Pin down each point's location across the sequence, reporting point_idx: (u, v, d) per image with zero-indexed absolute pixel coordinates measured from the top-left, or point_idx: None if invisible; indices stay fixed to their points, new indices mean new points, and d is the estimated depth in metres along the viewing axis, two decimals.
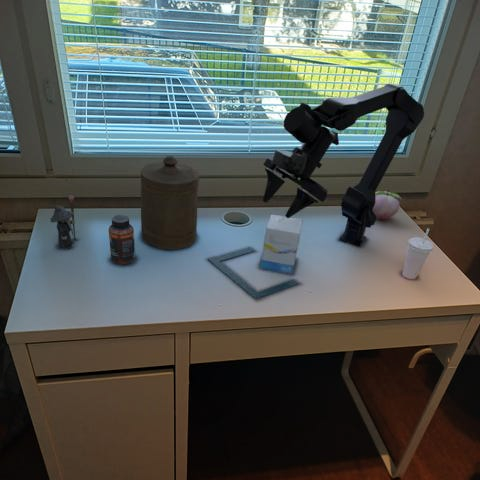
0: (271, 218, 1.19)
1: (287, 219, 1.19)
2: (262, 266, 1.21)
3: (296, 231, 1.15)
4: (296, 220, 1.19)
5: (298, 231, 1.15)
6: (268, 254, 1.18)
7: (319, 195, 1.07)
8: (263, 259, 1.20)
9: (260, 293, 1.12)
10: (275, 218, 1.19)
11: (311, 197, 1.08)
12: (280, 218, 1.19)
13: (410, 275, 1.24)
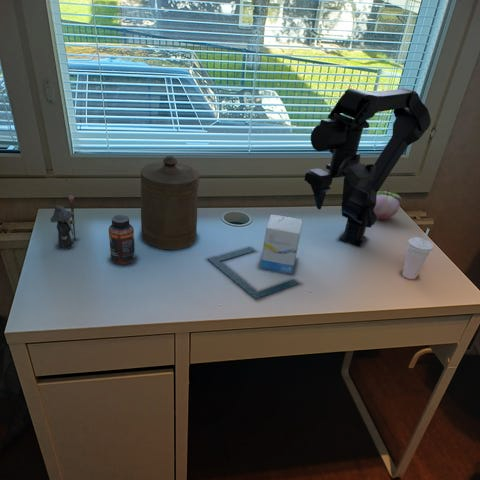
0: (271, 218, 1.19)
1: (287, 219, 1.19)
2: (262, 266, 1.21)
3: (296, 231, 1.15)
4: (296, 220, 1.19)
5: (298, 231, 1.15)
6: (268, 254, 1.18)
7: None
8: (263, 259, 1.20)
9: (260, 293, 1.12)
10: (275, 218, 1.19)
11: None
12: (280, 218, 1.19)
13: (410, 275, 1.24)
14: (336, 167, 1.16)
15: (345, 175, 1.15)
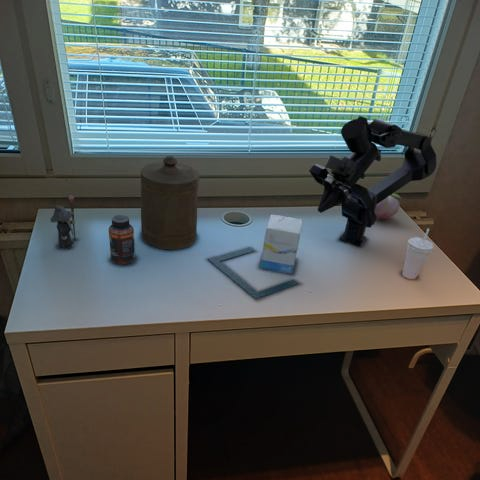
0: (271, 218, 1.19)
1: (287, 219, 1.19)
2: (262, 266, 1.21)
3: (296, 231, 1.15)
4: (296, 220, 1.19)
5: (298, 231, 1.15)
6: (268, 254, 1.18)
7: (366, 201, 1.17)
8: (263, 259, 1.20)
9: (260, 293, 1.12)
10: (275, 218, 1.19)
11: (346, 195, 1.20)
12: (280, 218, 1.19)
13: (410, 275, 1.24)
14: None
15: None
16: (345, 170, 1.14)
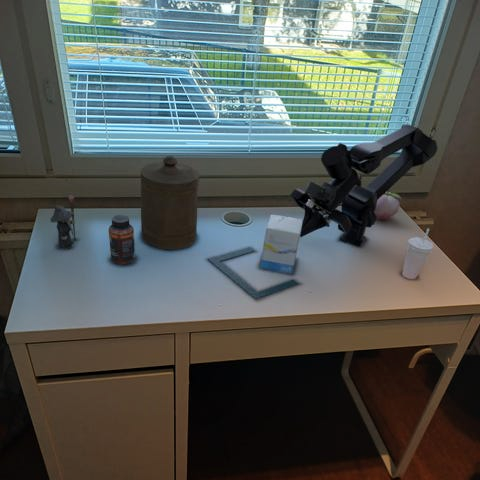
0: (271, 218, 1.19)
1: (287, 219, 1.19)
2: (262, 266, 1.21)
3: (296, 231, 1.15)
4: (296, 220, 1.19)
5: (298, 231, 1.15)
6: (268, 254, 1.18)
7: (345, 226, 1.17)
8: (263, 259, 1.20)
9: (260, 293, 1.12)
10: (275, 218, 1.19)
11: (326, 220, 1.21)
12: (280, 218, 1.19)
13: (410, 275, 1.24)
14: None
15: None
16: (324, 196, 1.15)
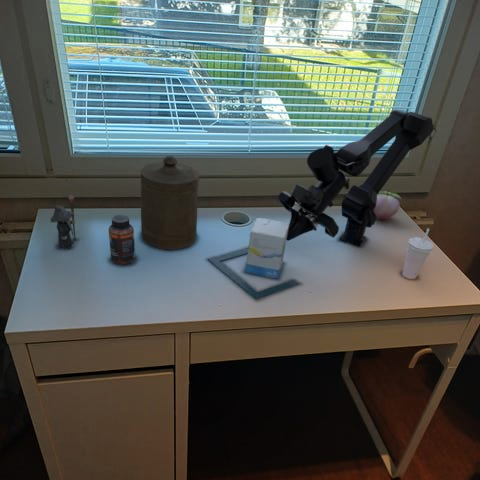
0: (257, 221, 1.17)
1: (273, 223, 1.17)
2: (247, 270, 1.19)
3: (281, 235, 1.12)
4: (282, 224, 1.17)
5: (283, 235, 1.12)
6: (253, 258, 1.16)
7: (332, 230, 1.15)
8: (248, 263, 1.17)
9: (260, 293, 1.12)
10: (261, 221, 1.17)
11: (312, 224, 1.18)
12: (266, 222, 1.17)
13: (410, 275, 1.24)
14: None
15: None
16: (310, 199, 1.12)
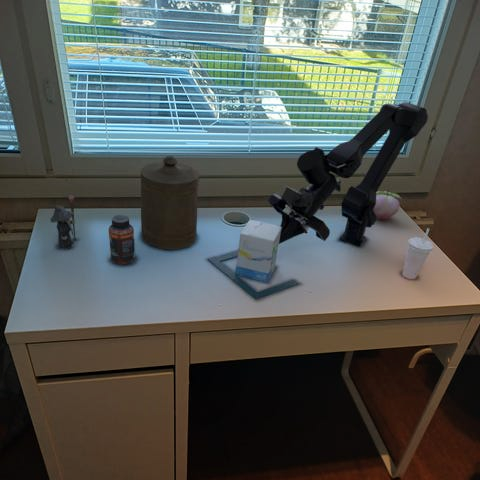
0: (248, 223, 1.15)
1: (265, 225, 1.15)
2: (237, 272, 1.17)
3: (271, 238, 1.10)
4: (274, 227, 1.15)
5: (272, 238, 1.10)
6: (242, 260, 1.15)
7: (323, 233, 1.13)
8: (238, 265, 1.16)
9: (260, 293, 1.12)
10: (252, 224, 1.15)
11: (303, 227, 1.16)
12: (258, 224, 1.15)
13: (410, 275, 1.24)
14: None
15: None
16: (300, 202, 1.11)
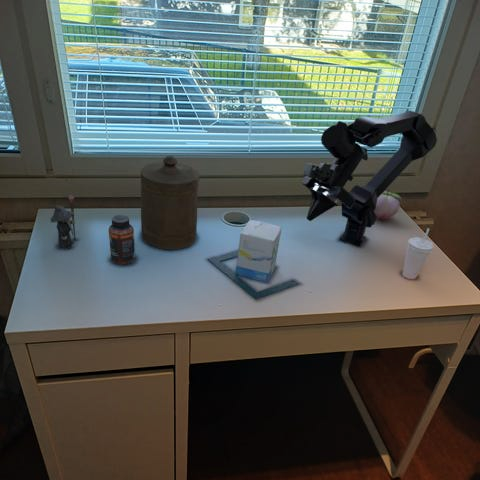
0: (248, 223, 1.15)
1: (265, 225, 1.15)
2: (237, 272, 1.17)
3: (271, 238, 1.10)
4: (274, 227, 1.15)
5: (273, 238, 1.10)
6: (243, 260, 1.15)
7: (345, 200, 1.12)
8: (238, 265, 1.16)
9: (260, 293, 1.12)
10: (253, 224, 1.15)
11: (329, 199, 1.17)
12: (258, 224, 1.15)
13: (410, 275, 1.24)
14: None
15: None
16: (318, 173, 1.13)
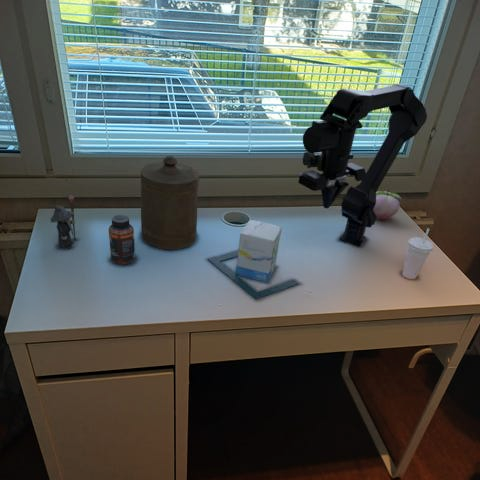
0: (248, 223, 1.15)
1: (265, 225, 1.15)
2: (237, 272, 1.17)
3: (271, 238, 1.10)
4: (274, 227, 1.15)
5: (273, 238, 1.10)
6: (243, 260, 1.15)
7: (306, 183, 1.14)
8: (238, 265, 1.16)
9: (260, 293, 1.12)
10: (253, 224, 1.15)
11: None
12: (258, 224, 1.15)
13: (410, 275, 1.24)
14: None
15: None
16: None
